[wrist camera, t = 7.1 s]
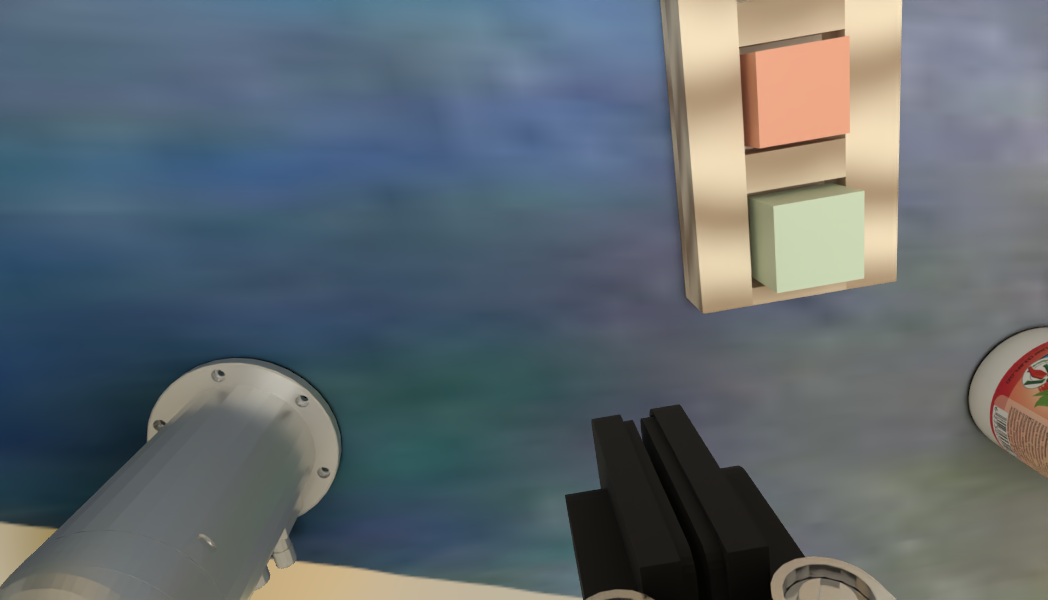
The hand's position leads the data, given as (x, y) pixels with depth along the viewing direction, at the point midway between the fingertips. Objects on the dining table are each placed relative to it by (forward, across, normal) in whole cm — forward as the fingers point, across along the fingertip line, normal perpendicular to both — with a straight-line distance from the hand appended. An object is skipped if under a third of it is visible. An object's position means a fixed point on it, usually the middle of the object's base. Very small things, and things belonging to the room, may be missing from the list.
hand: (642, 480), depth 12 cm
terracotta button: (+28, -15, -5) cm, 32 cm away
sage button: (+27, -15, +3) cm, 31 cm away
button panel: (+29, -15, -5) cm, 33 cm away
